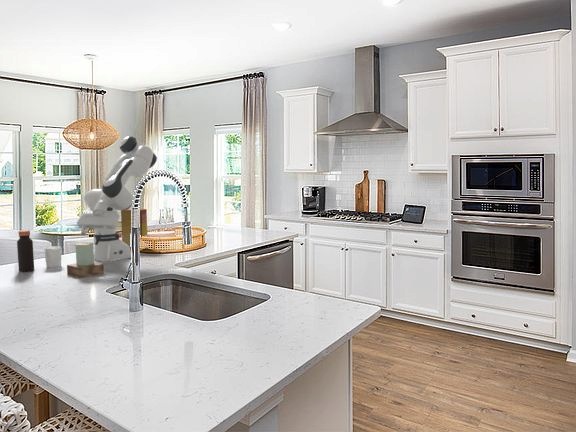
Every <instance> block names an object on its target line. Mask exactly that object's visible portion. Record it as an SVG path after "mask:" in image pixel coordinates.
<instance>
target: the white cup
mask: <svg viewBox="0 0 576 432" xmlns="http://www.w3.org/2000/svg"><path fill="white" fill-rule="evenodd" d="M43 250H44V259H45V266H46V268H47V267H48V269H52V268H53V269H55V267H56V268H60V267H61V266H62V246H59V245H57V246H52V245H51V246H47V247H44V248H43Z"/></svg>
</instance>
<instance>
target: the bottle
mask: <svg viewBox="0 0 576 432" xmlns="http://www.w3.org/2000/svg"><path fill="white" fill-rule="evenodd" d="M30 236H31V231H30V230H29V229H26V230H24V229H22V230H18V237H19V238H18V239H17V241H16V248H17V264H18V266H17V267H18V271H20V273H29V272H28V271H30V272H33V271H35V260H34V257H35V256H34V244H33V243H34V242H33V239H32V238H30Z"/></svg>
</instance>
